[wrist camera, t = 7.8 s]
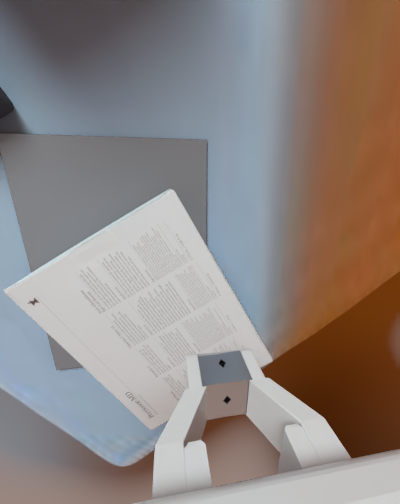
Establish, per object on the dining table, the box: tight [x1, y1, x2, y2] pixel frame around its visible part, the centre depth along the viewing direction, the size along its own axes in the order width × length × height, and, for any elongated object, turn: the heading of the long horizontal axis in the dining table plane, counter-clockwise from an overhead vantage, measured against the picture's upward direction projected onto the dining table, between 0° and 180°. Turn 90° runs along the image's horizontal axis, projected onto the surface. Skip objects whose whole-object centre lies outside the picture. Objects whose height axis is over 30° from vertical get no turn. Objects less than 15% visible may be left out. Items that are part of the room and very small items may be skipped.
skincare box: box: [4, 189, 273, 430], centre depth 22 cm, size 21×5×16 cm
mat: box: [0, 133, 207, 370], centre depth 22 cm, size 18×25×1 cm
